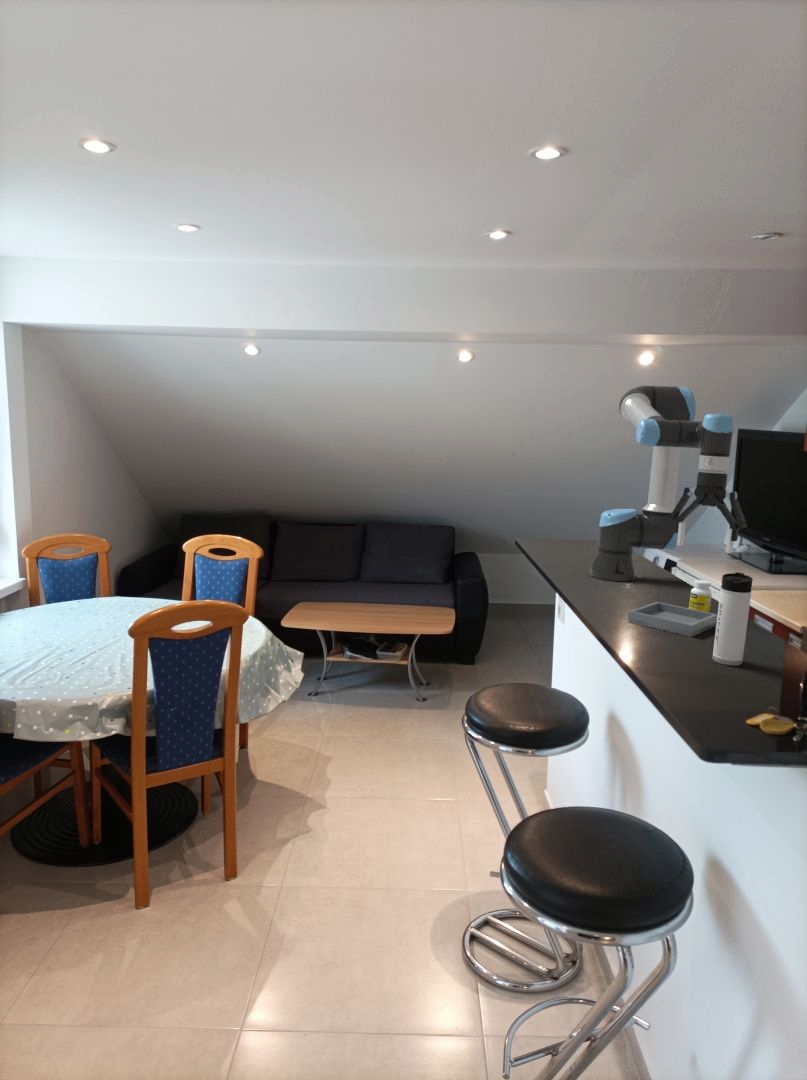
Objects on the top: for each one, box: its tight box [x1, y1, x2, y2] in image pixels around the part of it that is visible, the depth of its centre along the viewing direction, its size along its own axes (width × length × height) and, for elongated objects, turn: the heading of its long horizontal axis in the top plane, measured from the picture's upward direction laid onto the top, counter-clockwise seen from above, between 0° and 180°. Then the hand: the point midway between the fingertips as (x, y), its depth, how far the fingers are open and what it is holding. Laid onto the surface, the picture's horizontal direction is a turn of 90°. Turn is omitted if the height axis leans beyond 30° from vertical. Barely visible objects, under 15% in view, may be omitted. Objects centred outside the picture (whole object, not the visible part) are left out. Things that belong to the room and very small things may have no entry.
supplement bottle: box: [688, 579, 713, 613], centre depth 209 cm, size 5×5×10 cm
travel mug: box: [712, 571, 753, 667], centre depth 168 cm, size 6×7×20 cm
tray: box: [627, 601, 718, 638], centre depth 199 cm, size 17×17×3 cm
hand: (703, 549), depth 206 cm, fingers open, 13 cm apart
